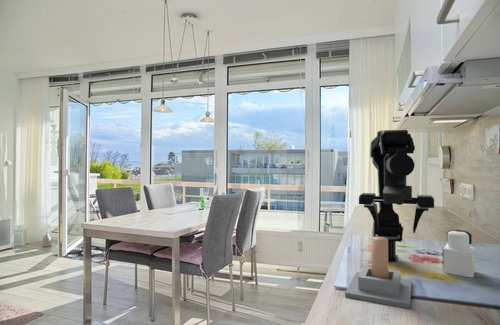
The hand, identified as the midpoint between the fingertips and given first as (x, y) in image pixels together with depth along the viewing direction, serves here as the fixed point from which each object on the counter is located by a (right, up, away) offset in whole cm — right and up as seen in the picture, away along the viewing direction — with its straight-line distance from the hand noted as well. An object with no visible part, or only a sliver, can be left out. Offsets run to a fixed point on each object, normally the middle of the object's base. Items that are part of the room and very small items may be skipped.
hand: (395, 231), depth 89 cm
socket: (-8, -13, -8) cm, 17 cm away
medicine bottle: (+20, -13, +4) cm, 24 cm away
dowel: (-8, -12, -8) cm, 16 cm away
